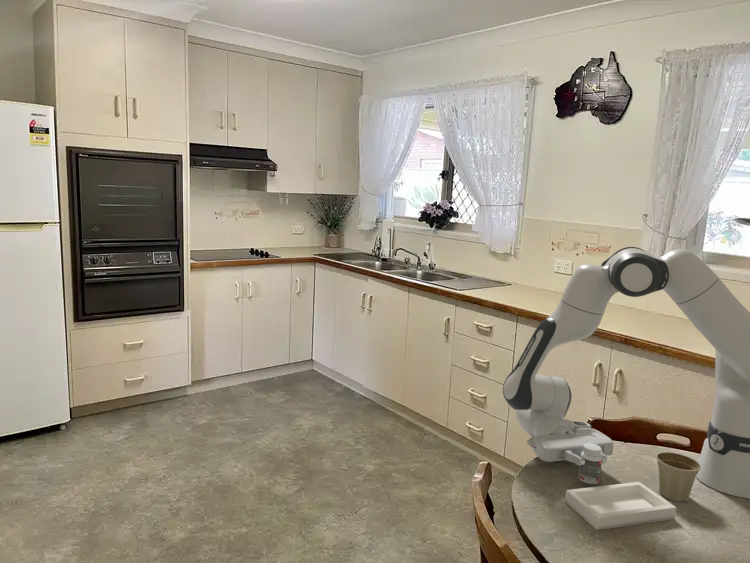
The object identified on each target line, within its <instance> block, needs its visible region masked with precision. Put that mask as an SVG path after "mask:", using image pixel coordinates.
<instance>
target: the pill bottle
mask: <svg viewBox="0 0 750 563" xmlns="http://www.w3.org/2000/svg"><path fill="white" fill-rule="evenodd" d="M581 456H582V457H583V458H585V462H584V463H585V465H581V466H579V468H578V479H579V480H580V481H581V482H583V483H585V484H589V485H596V484H599V483H600V479H601V478H600V477H601V471H602V464H603V463H602V456H601V447H600V446H598V445H596V444H592V443H585V444H584V445H583V452H582V453H581Z"/></svg>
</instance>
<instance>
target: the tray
mask: <svg viewBox="0 0 750 563" xmlns="http://www.w3.org/2000/svg"><path fill="white" fill-rule="evenodd" d="M564 502H565V503H566V504H567V505H568V506H569V507H570V508H571V509H572V510H573V511H575V512H576V514H578V515H579V516H580V517H582V519H584V520H585V521H586V522H587V523H588V524H589V525H590V526H592V528H594V529H595V530H596V531H601V530H609V529H615V528H623V527H627V526H628V527H630V526H636V525H643V524H649V523H651V524H652V523H657V522H665V521H671V520H672V521H673V520H675V519H676V512H677V506H675V505H674V504H672V503H671V502H669V501H668V500H666V499H665V497H662V496H660V494H658V493H656V492H655V491H653V490H652V488H651V489H650V488H649V487H647V486H646V485H645V484H643V483H642V482H640V481H634V482H627V483H626V482H625V483H624V482H623V483H617V484H608V485H607V484H606V485H599V486H592V487H591V486H590V487H580V488H573V489H566V491H565V497H564Z"/></svg>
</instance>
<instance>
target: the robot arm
mask: <svg viewBox="0 0 750 563" xmlns="http://www.w3.org/2000/svg"><path fill="white" fill-rule="evenodd" d="M659 291H664V292H665V293H666V294H667V295H668V296H669V298H670V299H671V300H672V301H673V302H674V303H675V305H677V307H678V308H679V309H680V311H682V313H683V314H684V315H685V316H686V317H687V318H688V320H689V321H690V322H691V324H692V325H693V326H694V327H695V328H696V330H697V331H698V332H699V333H700V334H701V335H702V336H703V337H705V339H706V340H707V341H708V342H709V343H710V345H711V346H712V347H714V351H715V359H714V367H715V368H714V372H715V373H714V377H715V391H714V392H715V394H714V402H713V406H712V407H713V410H712V413H711V421H709V423H708V426H707V429H706V430H707V431H706V432H707V433H706V436H707V437H706V438H705V439H704V441H703V446H702V449H701V452H700V455H699V459H698V460H697V461H698V462H699V463H700V464H701V470H699V471H698V474H697V475H696V477H697V479H698V480H699V481H700V482H702V484H704V485H706V486H708V487H709V488H712V489H714V490H716V491H719V492H721V493H724V494H728V495H731V496H735V497H740V498H745V499H748V500H750V311H749V310H748V309H747V308H746V307H745V306H744V305H743V303H741V302H740V301H739V299H737V297H736V296H735V295H734V294H733V293H732V291H731V290H730V289H729V288H728V287H727V286H726V285H725V283H724V282H723V281H722V280H721V279H720V277H719V276H718V275H717V274H716V272H714V271H713V270H712V269H711V267H709V265H707V263H705V261H703V260H702V259H701V258H700V257H698V256H697V255H696V254H695V253H694V252H692V251H691V250H689V249H686V248H675V249H673V250H669V251H668V252H665V253H664V254H663V255H660V256H653V255H652V254H650V253H649V252H647V251H646V250H644V249H642V248H640V247H636V246H627V247H623V248H621V249H619V250H617V251H616V252H614V253H613V254H612V255H611V256H609V257H608V258H607V259H606V260H604V261H603V262H602V263H601V265H597V264H593V263H586V264H582V265H579V266H578V267H577V268H576V269H575V270H574V271H573V274H571V277H570V278H569V281H568V283H567V284H566V286H565V288H564V290H563V293H562V296H561V298H560V301H559V303H558V305H557V307H556V308H555V309H554V310H553V312H552V313H551V314H550V315H549V316H548V317H547V318H545V319H543V320H541V322H540V323H539V324H538V325H537V327H536V328H535V330H534V332H533V334H532V335H531V337H530V339H529V341H528V343H527V344H526V346H525V348H524V350H523V352H522V354H521V356H520V357H519V359H518V361H517V363H516V365H515V366H514V367H513V369H512V371H510V373H509V374H508V375H507V377H506V378H505V380H504V382H503V387H502V394H503V397H504V399H505V401H506V403H507V404H508V405H509V406H510V407H511V408H512V409H513V410H515V411H516V413H515V417H516V420H517V422H518V424H519V427H520V428H522V430H523V431H524V432H525V433H526V434H527V435H529V436H530V438H528V440H526V443H527V445H528V446H529V447H531V448H532V450H533V452H534V453H535V455H536V456H537V457H538V458H539V459H540V460H541V461H543V462H546V463H552V462H561V461H566V462H569V463H573V464H575V465H577V466H579V467H580V466H581V465H585V463H584V462H585V458H583V457H582V456H581V453H582V452H583V445H584V444H585V443H592V444H596V445H598V446H600V447H601V456H602V463H601V464H606V463H607V462H608V456H612V455H613V452H614V444H615V443H614V440H612V439H611V437H609V436H607V435H606V434H604V433H603V432H601V431H599V430H597V429H595V428H592V425H591V424H589V423H588V422H586V421H585V422H583V421H573V420H570V419H566V418H565V417H566V415H567V413H568V411H569V409H570V406H571V404H572V397H573V396H572V391H571V387H570V385H569V384H568V382H567V381H566V379H564V378H563V377H562V376H561V377H560V376H555V375H547V374H538V372H539V370H540V368H541V367H542V365H543V363H544V361H545V360H546V358H547V356H548V354H549V353H550V352H551V351H552V350H553V349H555V348H556V347H559V346H560V345H563V344H567V343H571V342H576V341H580V340H583V339H586V338H588V337H590V336H591V335H593V334H594V333H595V331H596V330H597V329H598V327H599V326H600V324H601V321H602V319H603V316H604V313H605V311H606V309H607V305H608V303H609V301H610V299H612V297H613V296H614V295H616V294H617V293H621V294H622V295H624V296H627V297H630V298H638V297H644V296H647V295H649V294H652V293H655V292H659ZM696 477H695V478H696Z"/></svg>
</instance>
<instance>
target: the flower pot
mask: <svg viewBox="0 0 750 563" xmlns="http://www.w3.org/2000/svg"><path fill="white" fill-rule="evenodd" d="M655 459H656V460H657V462H656V463H657V465H658V492H659V495H662V496H664V498H666V499H668V500H671V501H675V502H679V503H680V502H684V501H685V502H687V501H688V500H689V499H690V495H691V492H692V488H693V486H694V483H695V481H696V480H695V479H696V475H697V474H698V471H699V470H701V464H700V463H699V462H698V461H699V460H696V459H694V458H693V457H690V456H688V455H685V454H682V453H677V452H673V451H672V452H671V451H669V452H668V451H661V452H657V453H656V454H655Z"/></svg>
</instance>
